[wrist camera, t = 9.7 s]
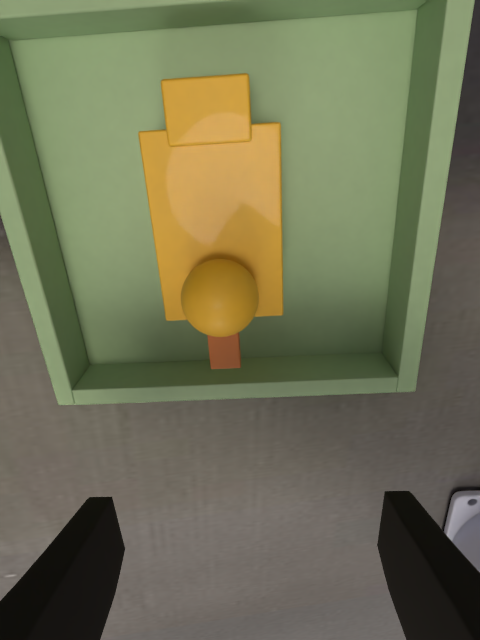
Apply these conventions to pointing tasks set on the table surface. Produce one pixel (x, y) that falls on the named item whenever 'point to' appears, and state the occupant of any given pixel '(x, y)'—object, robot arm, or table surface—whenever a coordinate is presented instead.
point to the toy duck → (215, 209)
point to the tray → (297, 186)
